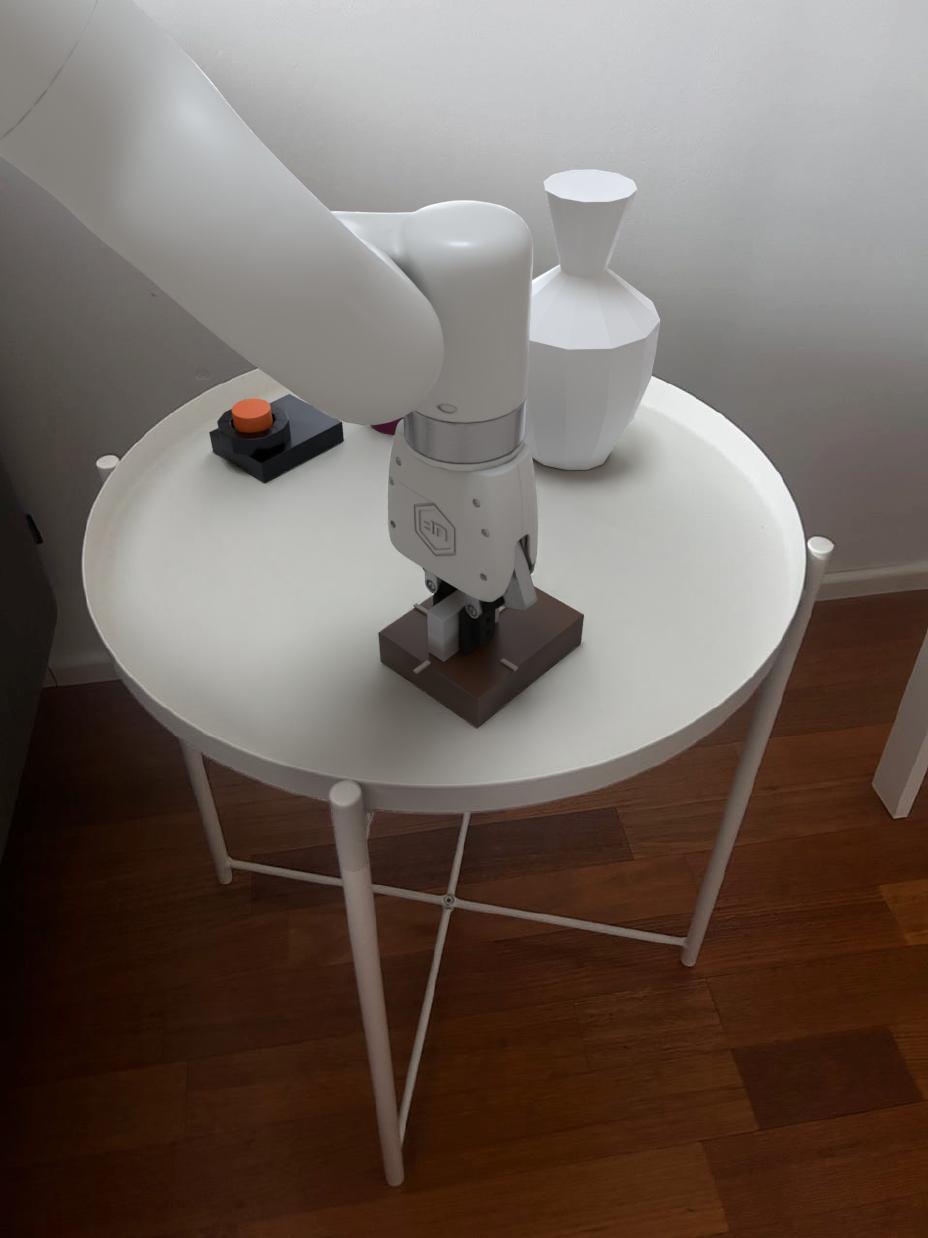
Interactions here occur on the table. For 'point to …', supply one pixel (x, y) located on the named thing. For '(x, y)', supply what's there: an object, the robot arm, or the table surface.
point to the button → (252, 415)
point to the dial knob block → (484, 655)
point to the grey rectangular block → (446, 625)
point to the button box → (277, 439)
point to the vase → (586, 328)
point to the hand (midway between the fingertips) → (464, 635)
